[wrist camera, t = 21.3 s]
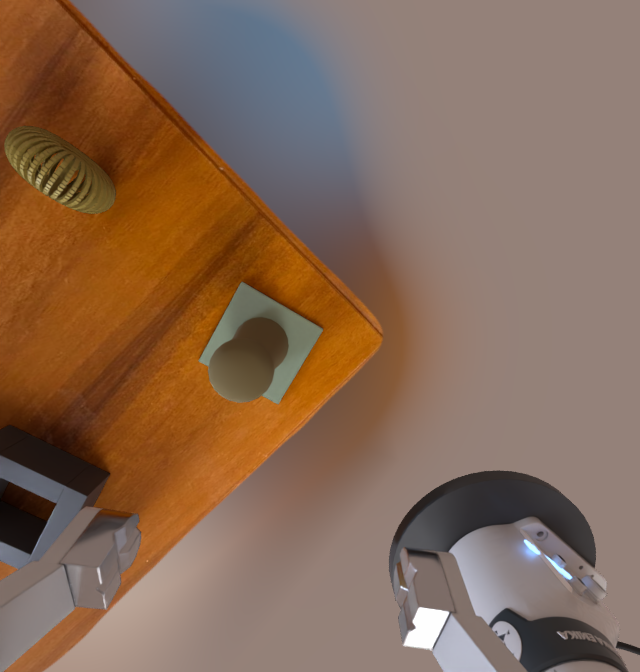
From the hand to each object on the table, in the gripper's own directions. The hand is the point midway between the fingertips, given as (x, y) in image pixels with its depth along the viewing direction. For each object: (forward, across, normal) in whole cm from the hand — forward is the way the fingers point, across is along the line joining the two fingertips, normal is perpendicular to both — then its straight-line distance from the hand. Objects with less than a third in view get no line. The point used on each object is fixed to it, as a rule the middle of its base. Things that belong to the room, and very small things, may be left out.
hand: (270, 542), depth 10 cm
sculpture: (+28, -23, +8) cm, 37 cm away
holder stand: (+21, -29, -26) cm, 45 cm away
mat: (+26, -5, -6) cm, 27 cm away
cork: (+26, -5, -6) cm, 27 cm away
